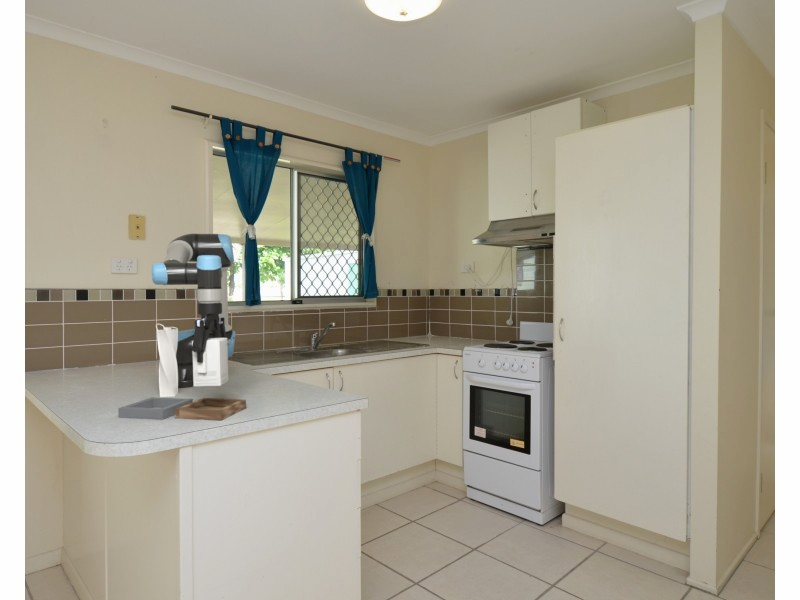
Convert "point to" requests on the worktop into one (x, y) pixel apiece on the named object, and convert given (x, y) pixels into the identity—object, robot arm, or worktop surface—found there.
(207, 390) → the worktop surface
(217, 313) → the robot arm
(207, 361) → the supplement box
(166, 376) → the skyscraper
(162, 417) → the gray square tray
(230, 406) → the tray
